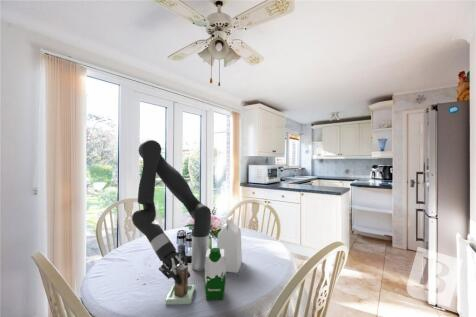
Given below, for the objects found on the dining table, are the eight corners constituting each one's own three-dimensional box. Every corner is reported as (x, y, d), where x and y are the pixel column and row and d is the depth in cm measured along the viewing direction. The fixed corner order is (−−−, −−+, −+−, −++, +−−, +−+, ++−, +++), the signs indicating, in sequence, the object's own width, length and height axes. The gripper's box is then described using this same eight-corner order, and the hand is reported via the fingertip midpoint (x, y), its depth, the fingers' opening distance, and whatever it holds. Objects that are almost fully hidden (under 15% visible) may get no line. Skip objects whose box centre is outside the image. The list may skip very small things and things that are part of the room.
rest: (194, 289, 96) (194, 284, 96) (190, 303, 86) (190, 298, 86) (172, 289, 96) (172, 284, 96) (165, 304, 86) (165, 299, 86)
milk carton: (203, 301, 88) (203, 252, 88) (206, 288, 97) (206, 243, 97) (225, 301, 88) (225, 252, 88) (225, 288, 97) (226, 243, 97)
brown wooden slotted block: (180, 290, 94) (180, 264, 94) (187, 293, 92) (187, 266, 92) (174, 295, 90) (174, 268, 90) (182, 298, 89) (182, 270, 89)
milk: (237, 272, 110) (238, 221, 111) (216, 270, 113) (216, 220, 113) (242, 261, 122) (242, 215, 122) (222, 259, 124) (222, 214, 125)
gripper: (155, 247, 88) (178, 284, 83) (178, 236, 101) (200, 267, 96) (145, 258, 90) (167, 295, 85) (169, 245, 103) (190, 277, 98)
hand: (184, 280), depth 90 cm, fingers open, 4 cm apart
